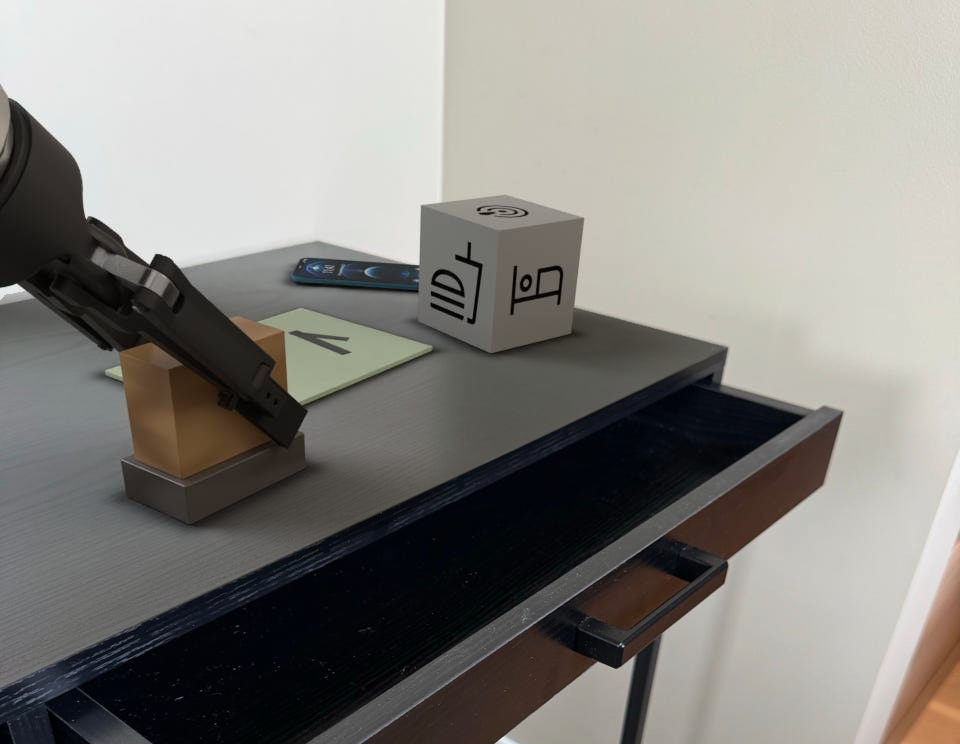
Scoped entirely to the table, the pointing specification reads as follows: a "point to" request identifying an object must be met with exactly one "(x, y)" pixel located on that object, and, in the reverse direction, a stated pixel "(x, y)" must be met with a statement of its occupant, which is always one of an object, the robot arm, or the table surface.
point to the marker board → (331, 353)
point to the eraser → (198, 434)
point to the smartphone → (357, 273)
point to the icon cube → (498, 270)
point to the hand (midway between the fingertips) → (257, 414)
